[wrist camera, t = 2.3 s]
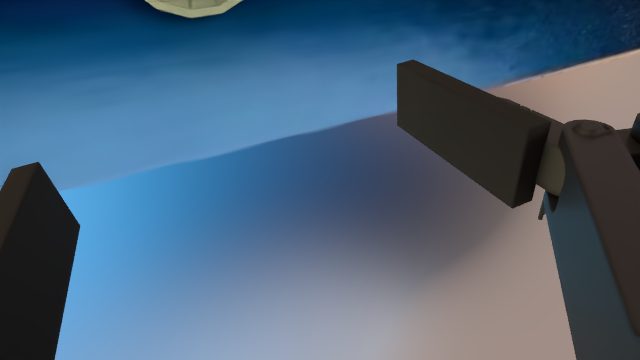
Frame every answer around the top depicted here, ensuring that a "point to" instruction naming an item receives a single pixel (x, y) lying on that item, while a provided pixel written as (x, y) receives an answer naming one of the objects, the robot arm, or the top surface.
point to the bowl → (193, 7)
